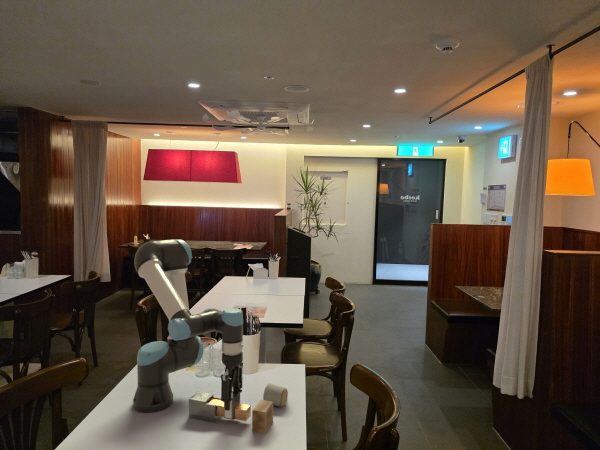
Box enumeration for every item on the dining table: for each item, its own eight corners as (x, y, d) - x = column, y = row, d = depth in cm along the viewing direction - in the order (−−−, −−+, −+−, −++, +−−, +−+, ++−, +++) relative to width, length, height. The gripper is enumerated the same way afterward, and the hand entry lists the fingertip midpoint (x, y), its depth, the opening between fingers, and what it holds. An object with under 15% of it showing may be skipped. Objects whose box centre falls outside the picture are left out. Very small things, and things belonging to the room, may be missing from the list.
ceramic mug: (281, 410, 161) (282, 391, 161) (262, 406, 164) (262, 387, 164) (291, 398, 171) (291, 380, 171) (272, 395, 174) (273, 377, 174)
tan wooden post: (195, 412, 155) (195, 392, 154) (203, 406, 160) (203, 386, 159) (245, 422, 149) (245, 400, 148) (251, 414, 154) (251, 393, 153)
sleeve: (188, 417, 155) (188, 398, 155) (197, 409, 161) (197, 391, 161) (214, 422, 152) (214, 403, 152) (222, 414, 158) (222, 395, 158)
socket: (252, 431, 147) (252, 410, 146) (260, 419, 154) (261, 399, 154) (264, 433, 145) (265, 412, 145) (272, 422, 153) (273, 401, 153)
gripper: (230, 362, 142) (230, 428, 143) (252, 344, 159) (251, 403, 161) (210, 359, 144) (210, 424, 146) (234, 342, 162) (233, 400, 163)
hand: (232, 413), depth 153 cm, fingers closed on tan wooden post, 5 cm apart
